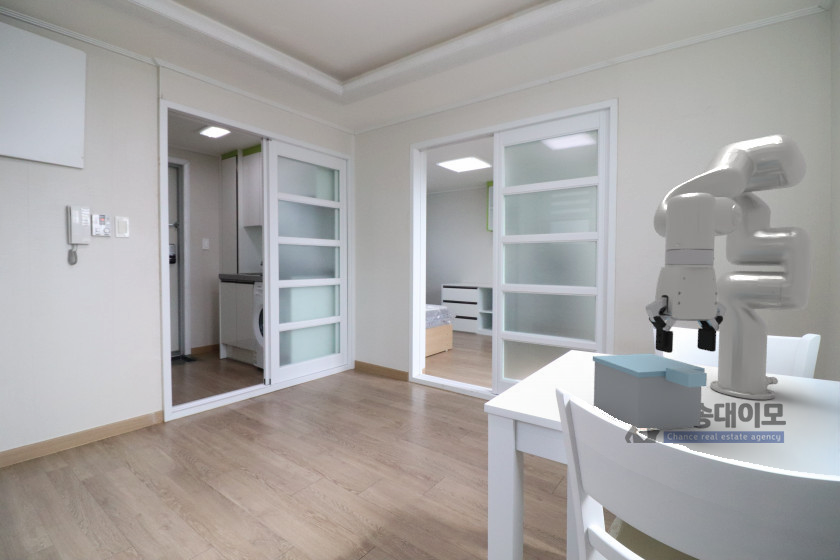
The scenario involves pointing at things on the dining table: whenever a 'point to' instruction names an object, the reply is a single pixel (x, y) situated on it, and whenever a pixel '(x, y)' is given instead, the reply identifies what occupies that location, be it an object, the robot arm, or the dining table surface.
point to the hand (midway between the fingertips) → (685, 350)
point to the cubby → (646, 399)
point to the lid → (656, 368)
